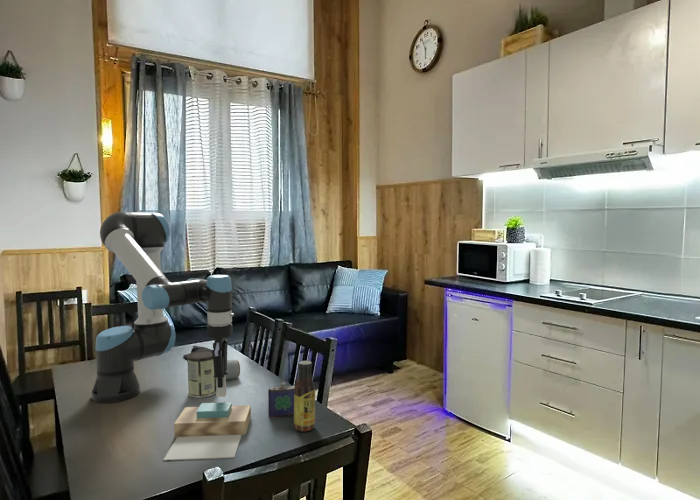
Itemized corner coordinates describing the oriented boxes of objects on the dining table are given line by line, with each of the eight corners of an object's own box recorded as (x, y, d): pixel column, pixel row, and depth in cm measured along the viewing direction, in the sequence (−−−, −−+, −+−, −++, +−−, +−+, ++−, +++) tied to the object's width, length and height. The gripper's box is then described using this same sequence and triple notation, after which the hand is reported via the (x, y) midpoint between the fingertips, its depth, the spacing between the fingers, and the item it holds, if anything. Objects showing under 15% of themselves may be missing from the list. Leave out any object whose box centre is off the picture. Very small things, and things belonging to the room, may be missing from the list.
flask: (297, 412, 143) (296, 379, 142) (298, 415, 140) (297, 383, 140) (268, 414, 141) (267, 382, 140) (268, 418, 138) (268, 385, 137)
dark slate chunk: (192, 371, 183) (191, 359, 182) (182, 356, 202) (182, 346, 201) (229, 364, 191) (229, 354, 190) (216, 351, 209) (216, 341, 209)
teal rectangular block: (196, 418, 130) (196, 411, 129) (201, 409, 135) (201, 403, 135) (227, 417, 130) (227, 410, 130) (231, 408, 136) (231, 402, 136)
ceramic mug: (241, 380, 171) (240, 360, 171) (219, 383, 167) (219, 363, 167) (234, 372, 181) (233, 353, 180) (213, 375, 177) (213, 356, 176)
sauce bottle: (306, 434, 128) (306, 367, 127) (289, 429, 131) (289, 363, 130) (319, 426, 134) (319, 361, 132) (303, 421, 137) (302, 358, 135)
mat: (163, 460, 114) (163, 459, 114) (177, 437, 126) (177, 436, 126) (234, 457, 116) (234, 456, 115) (241, 435, 127) (241, 434, 127)
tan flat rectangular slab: (174, 437, 126) (174, 423, 126) (185, 419, 137) (185, 407, 137) (245, 434, 128) (245, 421, 128) (250, 417, 139) (250, 405, 139)
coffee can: (202, 385, 166) (201, 348, 165) (224, 389, 162) (223, 351, 161) (181, 395, 157) (180, 356, 156) (203, 400, 152) (202, 360, 151)
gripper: (228, 328, 135) (229, 403, 136) (235, 318, 148) (236, 387, 149) (202, 329, 134) (204, 404, 136) (212, 319, 147) (213, 388, 149)
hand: (221, 395), depth 142 cm, fingers closed
